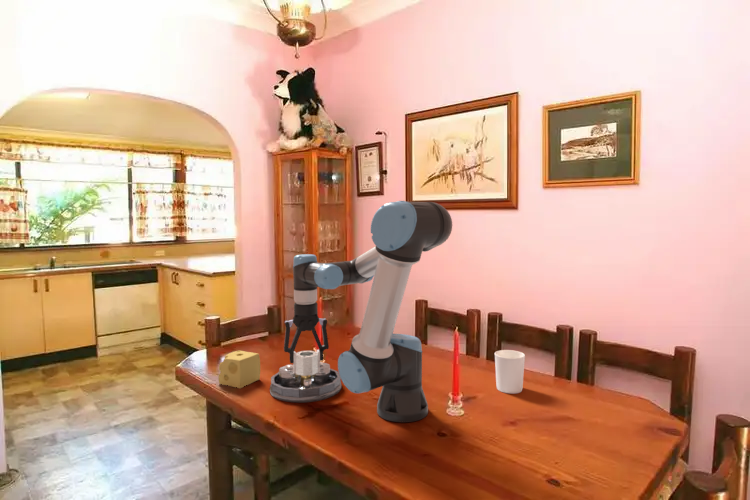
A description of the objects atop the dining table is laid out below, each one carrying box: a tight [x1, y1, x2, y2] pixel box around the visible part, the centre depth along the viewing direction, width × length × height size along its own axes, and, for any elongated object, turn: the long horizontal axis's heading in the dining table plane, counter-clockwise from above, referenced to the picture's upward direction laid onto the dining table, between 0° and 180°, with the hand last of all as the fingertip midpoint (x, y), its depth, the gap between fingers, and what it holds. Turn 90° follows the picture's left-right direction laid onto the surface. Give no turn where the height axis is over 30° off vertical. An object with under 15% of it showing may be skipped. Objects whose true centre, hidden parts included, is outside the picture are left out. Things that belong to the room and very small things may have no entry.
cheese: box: [217, 349, 261, 389], centre depth 166 cm, size 10×11×10 cm
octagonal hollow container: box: [296, 350, 318, 376], centre depth 153 cm, size 7×7×6 cm
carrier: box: [269, 361, 342, 404], centre depth 159 cm, size 24×24×8 cm
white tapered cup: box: [494, 349, 526, 395], centre depth 156 cm, size 10×10×12 cm
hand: (306, 371), depth 153 cm, fingers closed on octagonal hollow container, 7 cm apart
